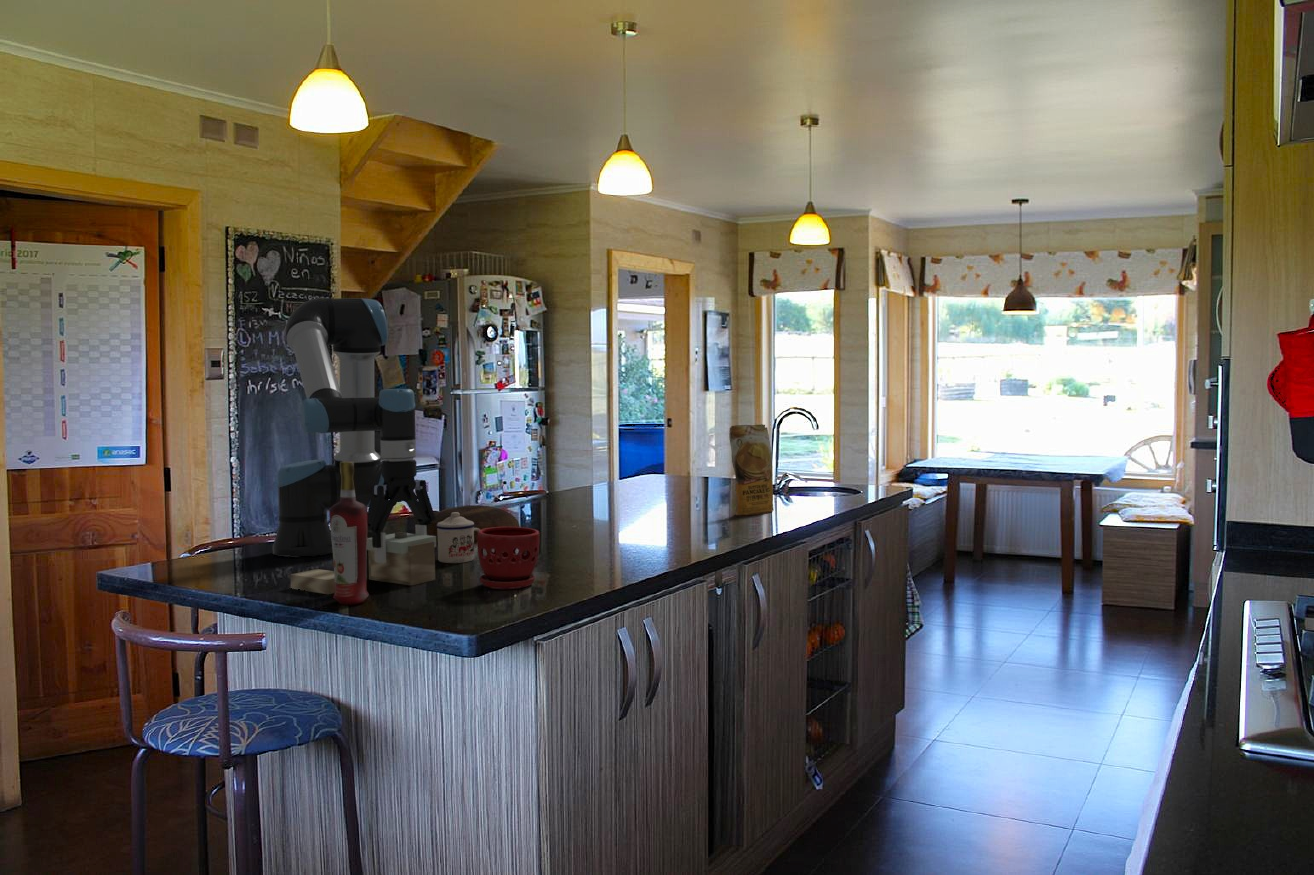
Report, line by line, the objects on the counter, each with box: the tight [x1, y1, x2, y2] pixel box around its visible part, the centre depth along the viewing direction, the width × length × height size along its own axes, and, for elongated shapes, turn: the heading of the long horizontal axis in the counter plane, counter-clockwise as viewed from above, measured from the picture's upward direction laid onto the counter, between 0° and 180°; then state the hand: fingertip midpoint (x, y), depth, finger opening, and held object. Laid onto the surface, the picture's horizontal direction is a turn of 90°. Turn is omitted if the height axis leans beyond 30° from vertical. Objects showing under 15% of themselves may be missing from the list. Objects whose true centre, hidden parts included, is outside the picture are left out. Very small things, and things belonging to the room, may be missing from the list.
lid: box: [367, 531, 437, 554], centre depth 230 cm, size 11×10×3 cm
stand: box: [289, 568, 335, 595], centre depth 222 cm, size 12×7×3 cm, turn 57°
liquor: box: [328, 462, 370, 606], centre depth 207 cm, size 7×7×28 cm
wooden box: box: [367, 541, 436, 586], centre depth 230 cm, size 13×7×8 cm, turn 57°
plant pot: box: [477, 526, 541, 590], centre depth 222 cm, size 13×13×12 cm
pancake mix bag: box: [728, 423, 774, 516], centre depth 329 cm, size 7×19×28 cm, turn 128°
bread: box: [417, 504, 521, 544], centre depth 290 cm, size 28×27×9 cm
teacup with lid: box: [436, 512, 480, 564], centre depth 254 cm, size 12×9×12 cm
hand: (401, 558), depth 230 cm, fingers open, 11 cm apart
